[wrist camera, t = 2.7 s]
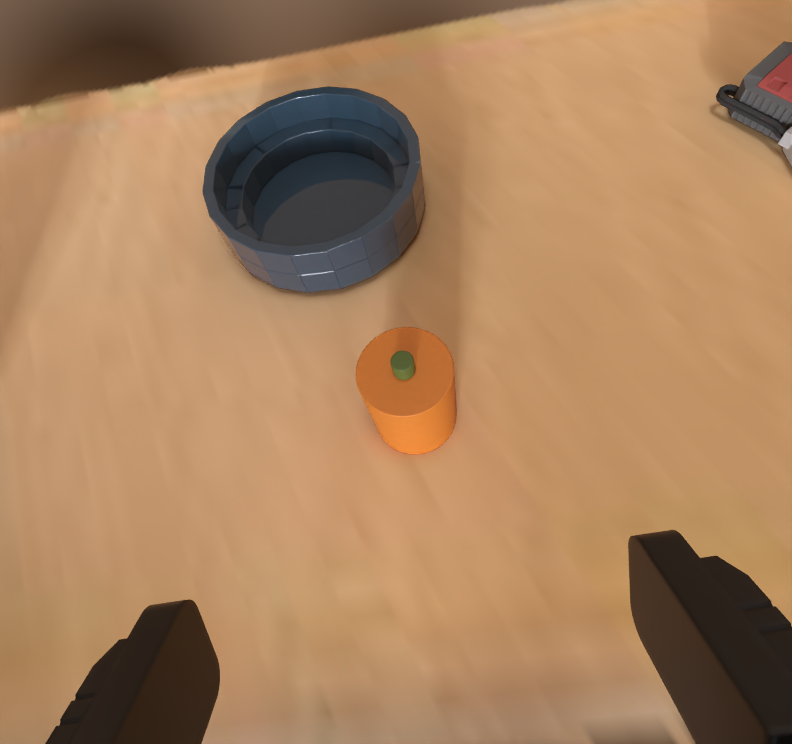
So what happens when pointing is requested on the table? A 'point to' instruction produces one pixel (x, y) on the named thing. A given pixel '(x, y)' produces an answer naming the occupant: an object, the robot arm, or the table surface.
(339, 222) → the bowl
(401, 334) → the squash
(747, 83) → the grey and red device
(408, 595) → the table surface
